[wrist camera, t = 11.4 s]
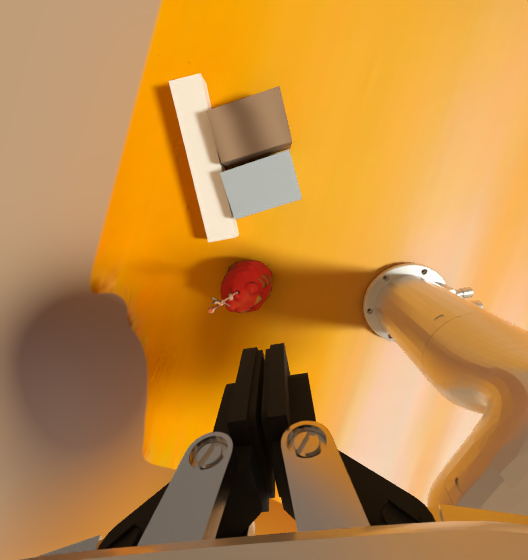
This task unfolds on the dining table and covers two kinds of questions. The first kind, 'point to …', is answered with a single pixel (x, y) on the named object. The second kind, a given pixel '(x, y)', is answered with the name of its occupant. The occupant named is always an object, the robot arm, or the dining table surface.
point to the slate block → (261, 184)
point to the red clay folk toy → (244, 287)
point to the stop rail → (203, 156)
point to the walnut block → (250, 127)
